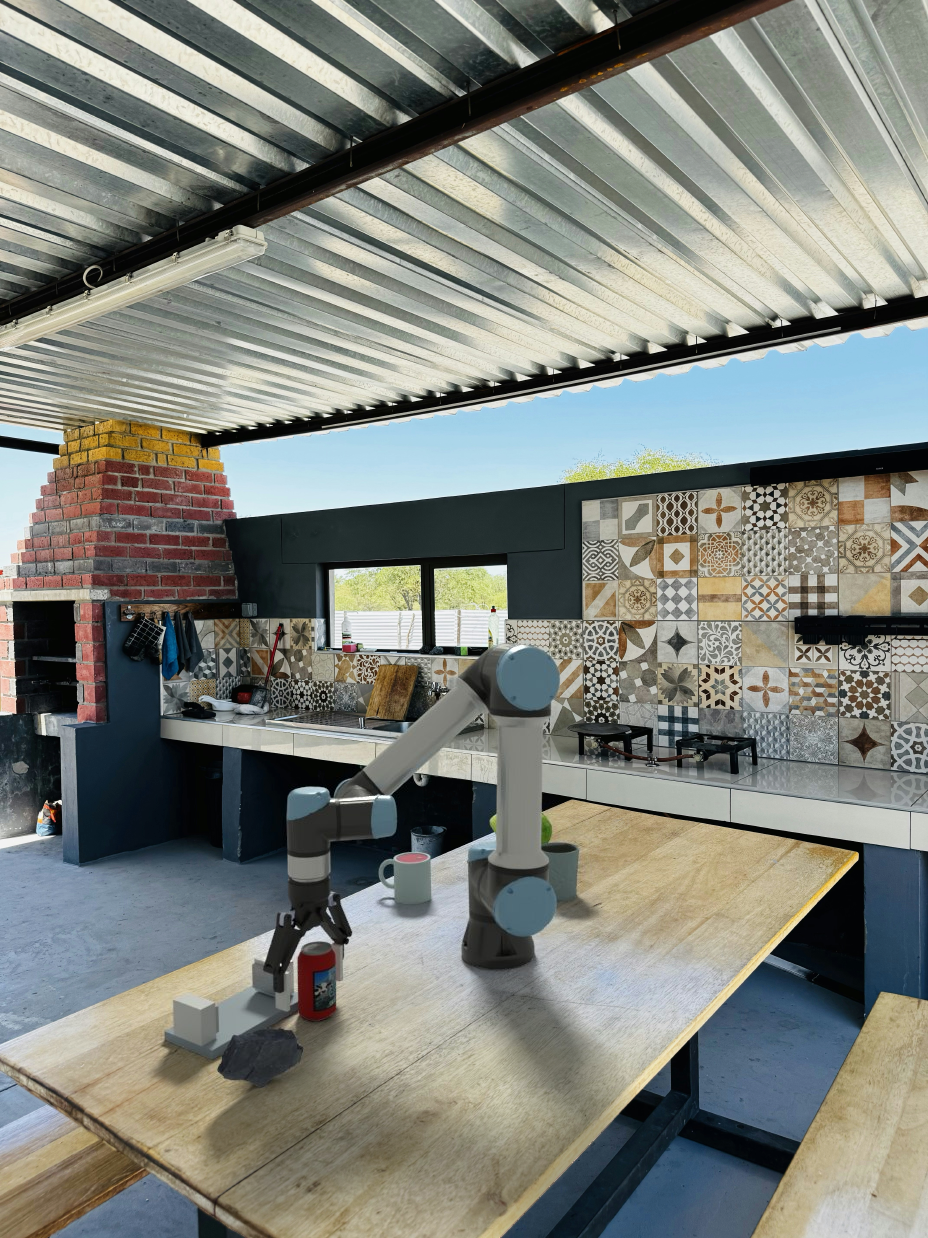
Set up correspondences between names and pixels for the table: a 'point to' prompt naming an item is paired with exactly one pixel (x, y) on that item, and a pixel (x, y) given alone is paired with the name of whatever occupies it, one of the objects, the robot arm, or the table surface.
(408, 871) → the mug
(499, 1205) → the table surface
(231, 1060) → the stone
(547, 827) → the lettuce
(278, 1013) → the vise bed
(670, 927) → the table surface
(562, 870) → the grey-green cup
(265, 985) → the block
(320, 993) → the beverage can
